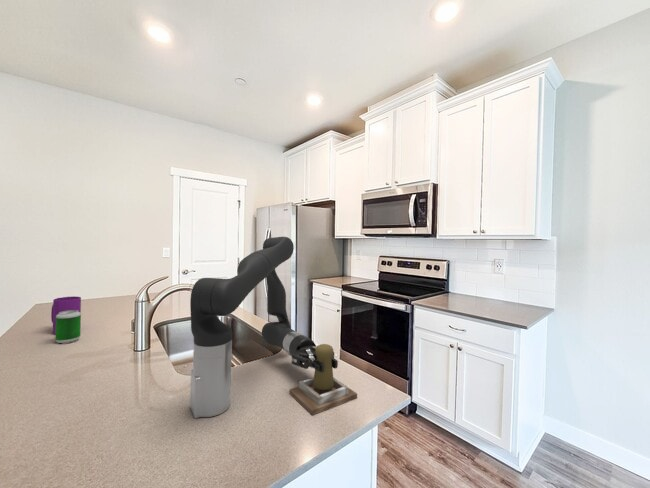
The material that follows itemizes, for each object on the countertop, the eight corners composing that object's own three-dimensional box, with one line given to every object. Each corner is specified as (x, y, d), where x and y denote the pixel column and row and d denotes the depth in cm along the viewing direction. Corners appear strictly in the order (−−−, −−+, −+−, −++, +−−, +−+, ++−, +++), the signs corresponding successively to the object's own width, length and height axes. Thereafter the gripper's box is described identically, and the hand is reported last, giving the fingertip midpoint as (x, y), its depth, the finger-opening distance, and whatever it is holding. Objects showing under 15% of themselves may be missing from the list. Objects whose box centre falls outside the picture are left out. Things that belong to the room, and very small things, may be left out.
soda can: (83, 340, 117) (83, 311, 117) (58, 346, 111) (59, 315, 111) (76, 336, 121) (76, 308, 121) (52, 341, 115) (53, 312, 115)
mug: (59, 336, 121) (60, 301, 121) (39, 331, 127) (40, 297, 127) (84, 330, 130) (85, 297, 130) (64, 325, 135) (65, 294, 135)
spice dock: (312, 415, 71) (312, 402, 71) (289, 393, 81) (289, 382, 81) (357, 397, 80) (357, 386, 80) (331, 380, 90) (331, 370, 90)
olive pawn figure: (331, 391, 77) (333, 350, 77) (310, 388, 78) (311, 348, 78) (335, 380, 83) (336, 342, 83) (315, 377, 84) (316, 340, 84)
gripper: (279, 338, 88) (308, 359, 74) (317, 331, 96) (350, 348, 82) (278, 362, 88) (307, 387, 74) (316, 353, 97) (349, 374, 83)
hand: (329, 366), depth 78 cm, fingers closed on olive pawn figure, 4 cm apart
